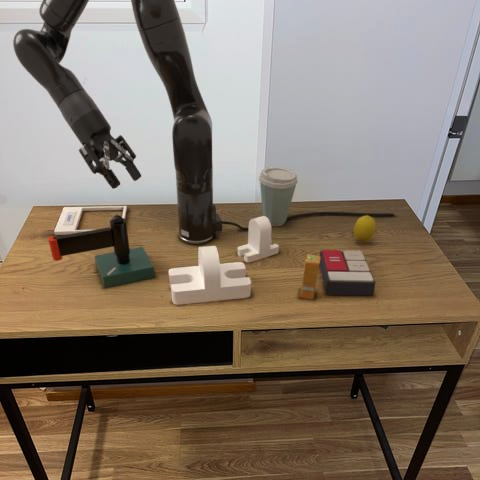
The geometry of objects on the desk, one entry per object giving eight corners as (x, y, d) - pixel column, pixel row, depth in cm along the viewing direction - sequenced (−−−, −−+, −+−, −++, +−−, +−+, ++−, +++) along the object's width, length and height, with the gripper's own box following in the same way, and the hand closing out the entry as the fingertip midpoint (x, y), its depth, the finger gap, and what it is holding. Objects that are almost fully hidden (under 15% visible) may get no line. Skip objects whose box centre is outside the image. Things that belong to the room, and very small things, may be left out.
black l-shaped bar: (128, 247, 120) (123, 210, 114) (131, 255, 117) (126, 217, 111) (53, 261, 114) (44, 223, 108) (55, 269, 112) (46, 231, 106)
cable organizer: (279, 252, 130) (282, 218, 124) (247, 263, 126) (248, 227, 119) (267, 243, 133) (270, 209, 127) (236, 253, 129) (237, 218, 123)
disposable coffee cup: (274, 209, 149) (278, 160, 140) (301, 222, 143) (307, 172, 134) (248, 220, 143) (251, 170, 134) (275, 234, 137) (279, 183, 128)
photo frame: (63, 206, 145) (126, 205, 146) (64, 210, 145) (126, 208, 147) (53, 231, 133) (121, 229, 135) (54, 234, 134) (122, 233, 136)
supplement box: (314, 300, 114) (319, 263, 108) (299, 298, 115) (304, 261, 108) (315, 292, 117) (321, 255, 110) (301, 290, 117) (305, 253, 111)
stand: (143, 256, 127) (141, 239, 124) (154, 277, 120) (152, 259, 117) (96, 266, 123) (93, 248, 120) (104, 287, 116) (101, 269, 113)
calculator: (363, 248, 125) (376, 280, 113) (360, 263, 128) (373, 295, 116) (320, 248, 125) (328, 279, 113) (318, 263, 128) (326, 294, 116)
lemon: (349, 244, 134) (354, 217, 129) (354, 235, 138) (359, 209, 133) (370, 249, 133) (376, 222, 128) (374, 239, 137) (379, 213, 132)
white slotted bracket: (251, 297, 114) (253, 257, 108) (173, 305, 111) (170, 264, 105) (242, 274, 122) (244, 235, 115) (169, 281, 119) (165, 241, 112)
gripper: (73, 111, 101) (120, 180, 104) (114, 105, 113) (155, 167, 116) (53, 132, 105) (99, 198, 108) (94, 124, 117) (134, 184, 120)
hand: (128, 182), depth 112 cm, fingers open, 8 cm apart
